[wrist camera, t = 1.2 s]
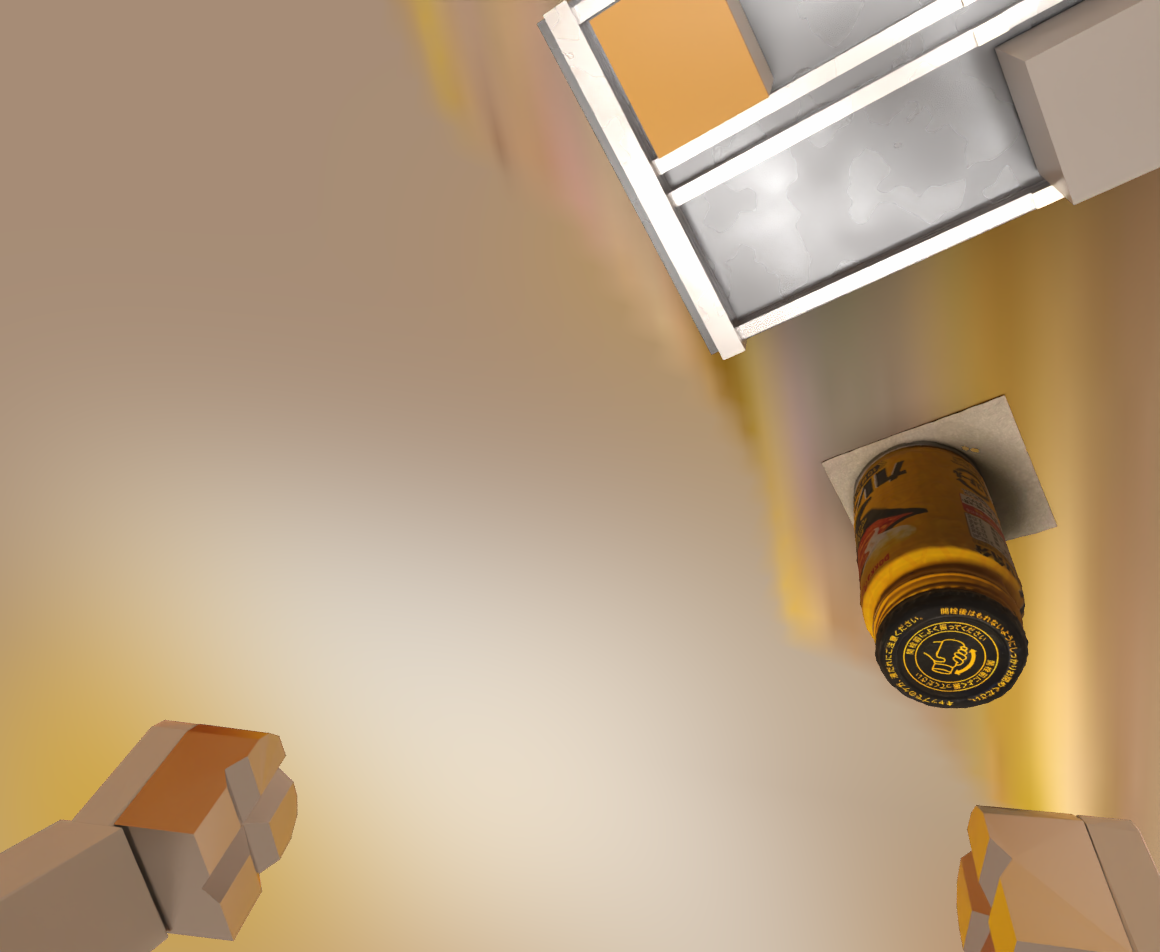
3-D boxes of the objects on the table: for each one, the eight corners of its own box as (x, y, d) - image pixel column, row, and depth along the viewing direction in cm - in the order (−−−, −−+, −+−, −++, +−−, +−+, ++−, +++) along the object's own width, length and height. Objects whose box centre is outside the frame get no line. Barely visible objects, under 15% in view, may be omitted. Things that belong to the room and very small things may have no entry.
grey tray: (1155, -389, 27) (1197, -432, 24) (1271, 84, 32) (1318, 96, 29) (549, 20, 36) (527, 25, 33) (715, 338, 41) (708, 366, 38)
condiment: (821, 461, 43) (826, 615, 33) (1004, 393, 39) (1073, 543, 29) (878, 576, 45) (900, 753, 35) (1055, 522, 42) (1136, 702, 32)
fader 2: (1119, -19, 29) (1172, -16, 25) (1159, 117, 31) (1216, 142, 27) (994, 47, 31) (1024, 61, 27) (1039, 173, 33) (1074, 205, 28)
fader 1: (716, -51, 31) (701, -54, 27) (773, 78, 33) (769, 97, 28) (618, 13, 33) (589, 21, 28) (678, 133, 35) (658, 159, 30)
